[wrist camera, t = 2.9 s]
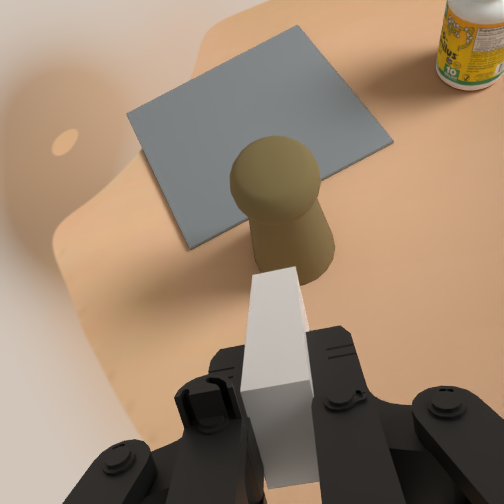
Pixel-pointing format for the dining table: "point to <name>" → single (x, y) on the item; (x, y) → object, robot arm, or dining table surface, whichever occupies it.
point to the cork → (283, 206)
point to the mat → (249, 127)
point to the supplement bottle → (471, 44)
